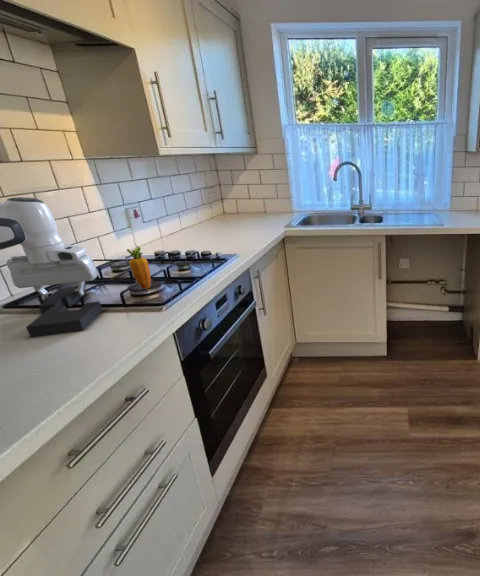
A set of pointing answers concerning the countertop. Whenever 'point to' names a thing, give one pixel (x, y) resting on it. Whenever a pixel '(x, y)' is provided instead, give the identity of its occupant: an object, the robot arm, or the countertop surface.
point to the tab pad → (60, 298)
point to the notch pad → (64, 320)
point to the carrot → (140, 268)
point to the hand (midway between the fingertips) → (64, 296)
